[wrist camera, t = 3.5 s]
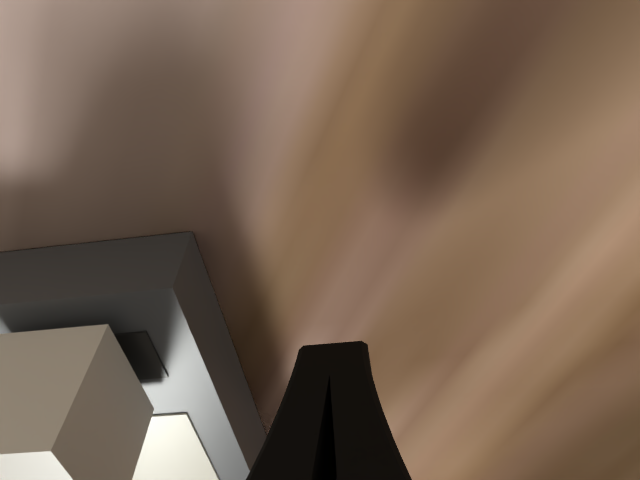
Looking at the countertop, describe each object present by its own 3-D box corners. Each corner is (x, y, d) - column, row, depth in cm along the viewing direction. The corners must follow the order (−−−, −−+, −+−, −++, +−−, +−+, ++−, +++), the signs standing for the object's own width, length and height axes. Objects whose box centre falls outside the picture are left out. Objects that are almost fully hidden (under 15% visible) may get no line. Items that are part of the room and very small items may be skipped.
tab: (108, 324, 12) (50, 450, 10) (154, 408, 14) (115, 533, 11) (-21, 336, 12) (-107, 461, 10) (41, 416, 14) (-20, 539, 12)
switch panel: (192, 231, 13) (171, 290, 12) (291, 503, 21) (286, 562, 20) (-308, 286, 15) (-388, 344, 13) (-46, 520, 23) (-76, 575, 21)
